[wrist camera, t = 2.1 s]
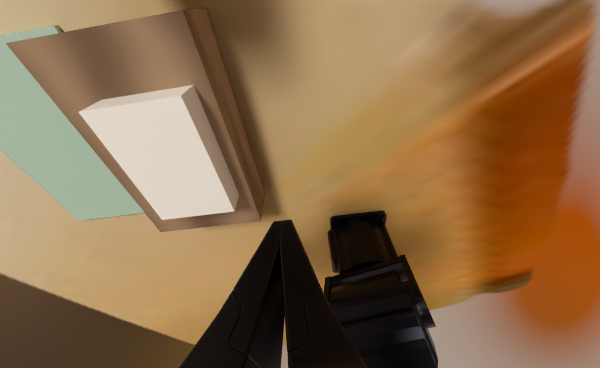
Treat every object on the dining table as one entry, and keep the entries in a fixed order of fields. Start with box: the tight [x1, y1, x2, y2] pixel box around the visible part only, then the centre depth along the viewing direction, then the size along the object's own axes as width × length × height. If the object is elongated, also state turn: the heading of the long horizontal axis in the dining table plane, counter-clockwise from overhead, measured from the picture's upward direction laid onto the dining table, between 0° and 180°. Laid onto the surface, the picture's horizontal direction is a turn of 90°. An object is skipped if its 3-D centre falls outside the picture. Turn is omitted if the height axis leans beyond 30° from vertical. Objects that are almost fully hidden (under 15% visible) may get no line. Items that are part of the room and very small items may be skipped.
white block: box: [79, 85, 239, 220], centre depth 16 cm, size 6×9×2 cm, turn 8°
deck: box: [6, 8, 265, 232], centre depth 18 cm, size 10×16×4 cm, turn 8°
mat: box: [0, 25, 145, 221], centre depth 21 cm, size 12×17×1 cm
